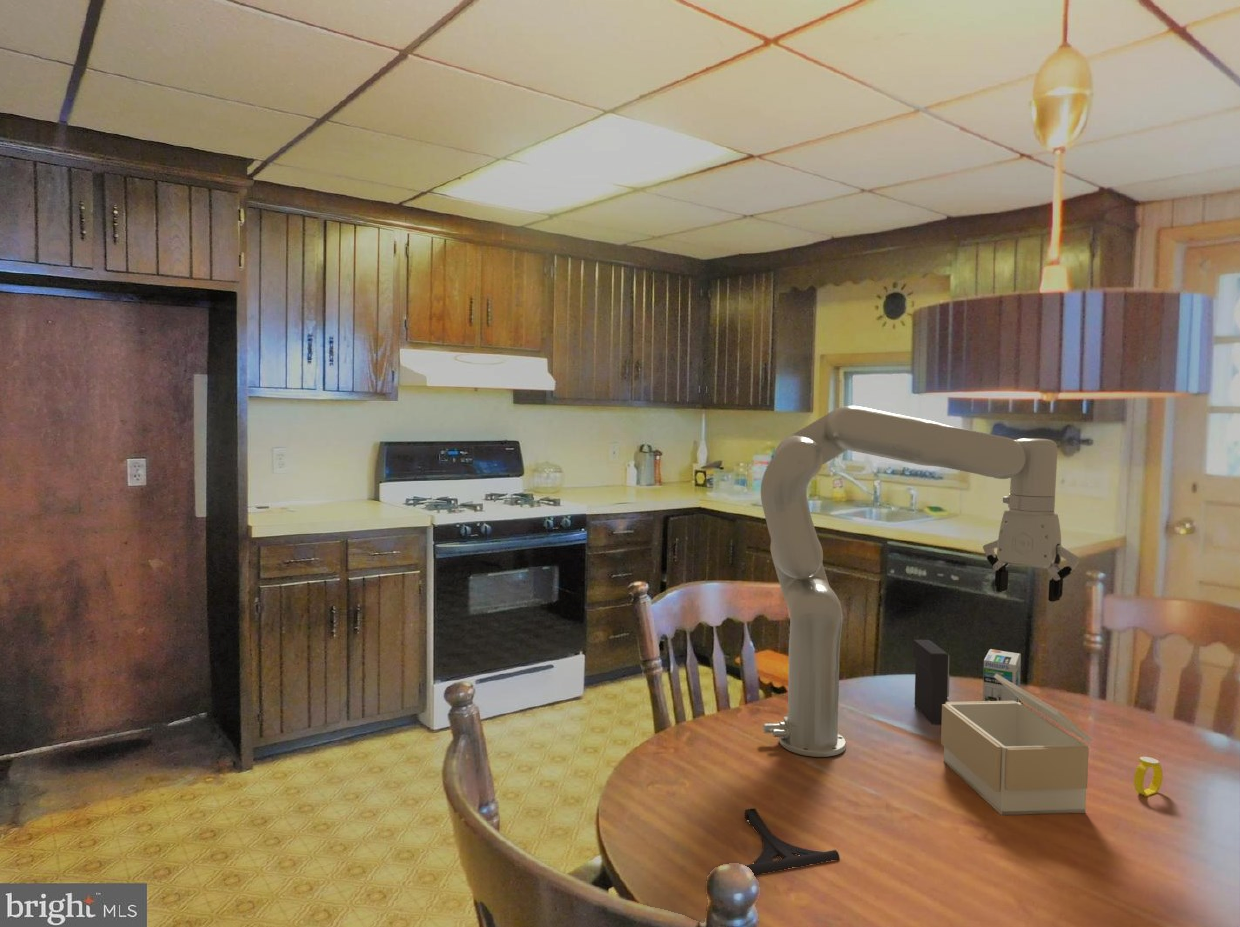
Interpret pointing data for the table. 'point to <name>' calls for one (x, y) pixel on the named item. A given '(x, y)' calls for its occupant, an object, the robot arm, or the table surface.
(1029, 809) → the carton
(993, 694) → the light bulb box
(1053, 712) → the carton flap
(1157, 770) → the watch
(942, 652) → the black rectangular block
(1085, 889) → the table surface
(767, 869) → the black squeegee
